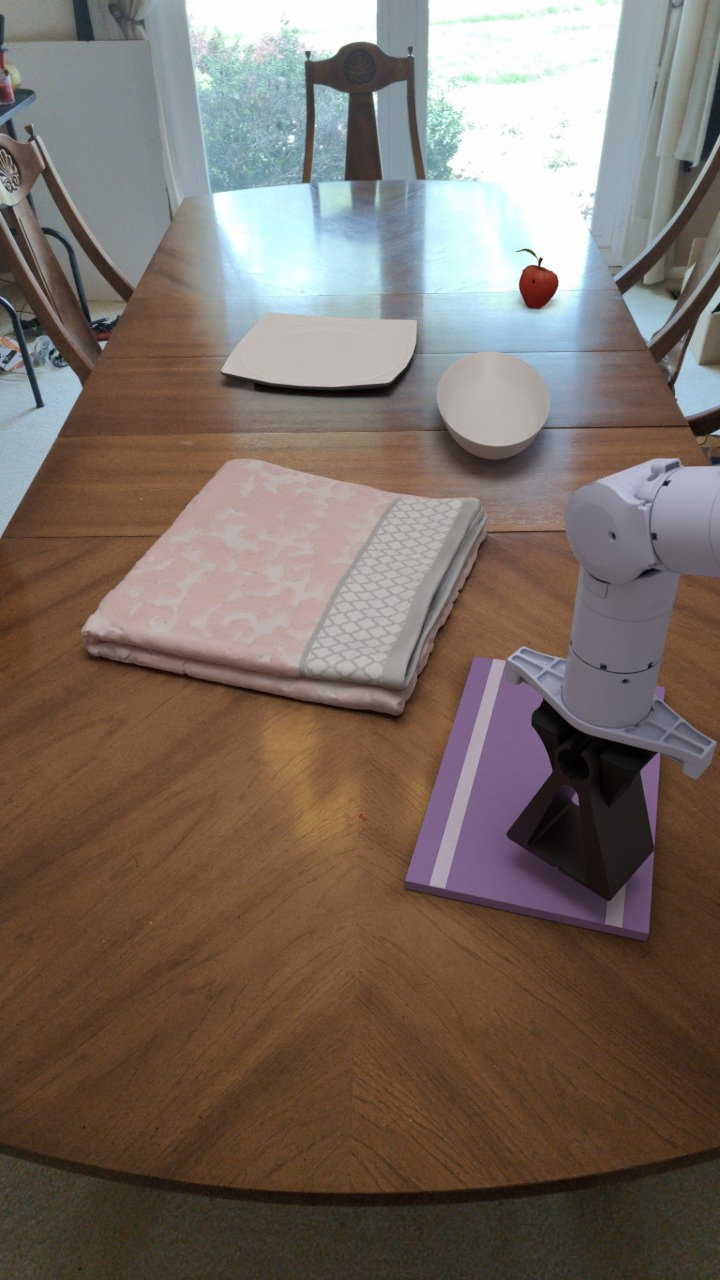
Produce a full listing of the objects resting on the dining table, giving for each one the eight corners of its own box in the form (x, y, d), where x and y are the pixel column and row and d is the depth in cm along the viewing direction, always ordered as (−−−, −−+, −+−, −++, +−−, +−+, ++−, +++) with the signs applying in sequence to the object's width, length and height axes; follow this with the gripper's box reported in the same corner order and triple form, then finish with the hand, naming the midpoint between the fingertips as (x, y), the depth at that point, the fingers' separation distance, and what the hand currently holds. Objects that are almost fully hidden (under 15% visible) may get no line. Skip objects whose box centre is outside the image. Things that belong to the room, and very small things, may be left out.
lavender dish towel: (646, 942, 71) (649, 933, 70) (404, 888, 75) (404, 880, 74) (663, 694, 92) (665, 686, 91) (473, 663, 96) (474, 655, 95)
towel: (406, 730, 89) (406, 681, 85) (77, 659, 98) (65, 613, 94) (491, 531, 115) (494, 488, 112) (227, 489, 124) (222, 448, 121)
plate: (262, 324, 170) (261, 309, 168) (425, 333, 165) (426, 317, 164) (210, 392, 148) (208, 375, 146) (397, 404, 143) (397, 387, 142)
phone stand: (654, 853, 72) (684, 733, 65) (610, 903, 68) (636, 783, 61) (551, 792, 77) (568, 675, 69) (505, 836, 73) (518, 717, 66)
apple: (549, 299, 178) (555, 241, 171) (560, 312, 172) (566, 253, 166) (508, 301, 177) (512, 244, 171) (517, 314, 172) (522, 255, 165)
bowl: (436, 390, 147) (438, 350, 143) (537, 391, 146) (541, 351, 142) (433, 488, 124) (435, 444, 120) (554, 491, 122) (559, 447, 119)
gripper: (755, 663, 59) (710, 815, 68) (554, 574, 67) (535, 720, 76) (699, 722, 55) (659, 876, 64) (492, 620, 63) (480, 769, 72)
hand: (588, 795), depth 69 cm, fingers closed on phone stand, 3 cm apart
